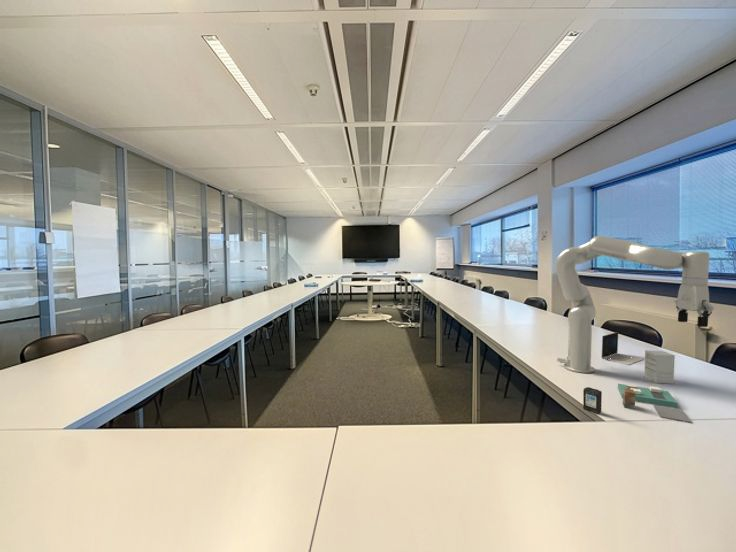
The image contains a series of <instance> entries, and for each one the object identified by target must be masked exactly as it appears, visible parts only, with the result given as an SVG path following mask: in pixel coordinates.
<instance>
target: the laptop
mask: <svg viewBox="0 0 736 552" xmlns="http://www.w3.org/2000/svg"><path fill="white" fill-rule="evenodd" d="M618 345H619V332H618V331H616V332H612V333H609V334H605V335H602V339H601V360H604V359H606V360H605V361H609V360H610V361H609V362H614V363H618V364H622V365H626V366H630V365H632V364H635V363H637V362H640V361H644V358H640V357H637V356H632V355H627V354H623V353H618V348H619V346H618ZM631 357H632V358H631ZM610 358H611V359H610ZM607 359H608V360H607Z"/></svg>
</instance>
